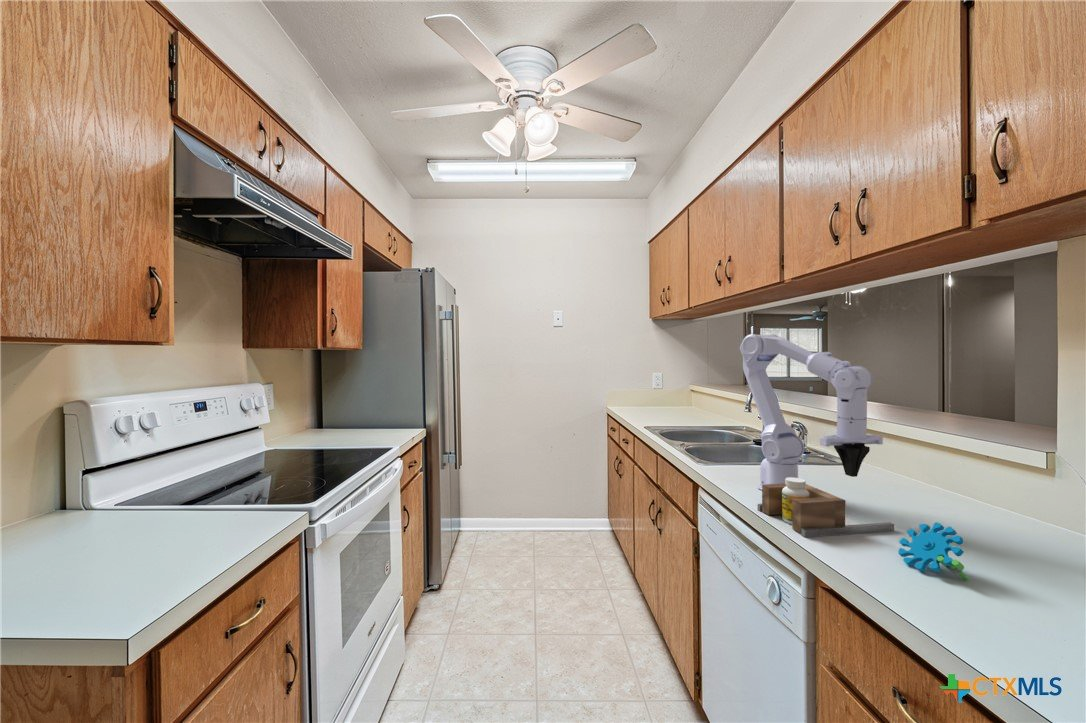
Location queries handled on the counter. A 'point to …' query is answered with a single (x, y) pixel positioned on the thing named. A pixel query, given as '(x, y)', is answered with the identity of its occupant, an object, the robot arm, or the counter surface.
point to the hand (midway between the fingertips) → (851, 475)
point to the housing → (805, 507)
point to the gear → (933, 549)
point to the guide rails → (844, 528)
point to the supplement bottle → (792, 496)
